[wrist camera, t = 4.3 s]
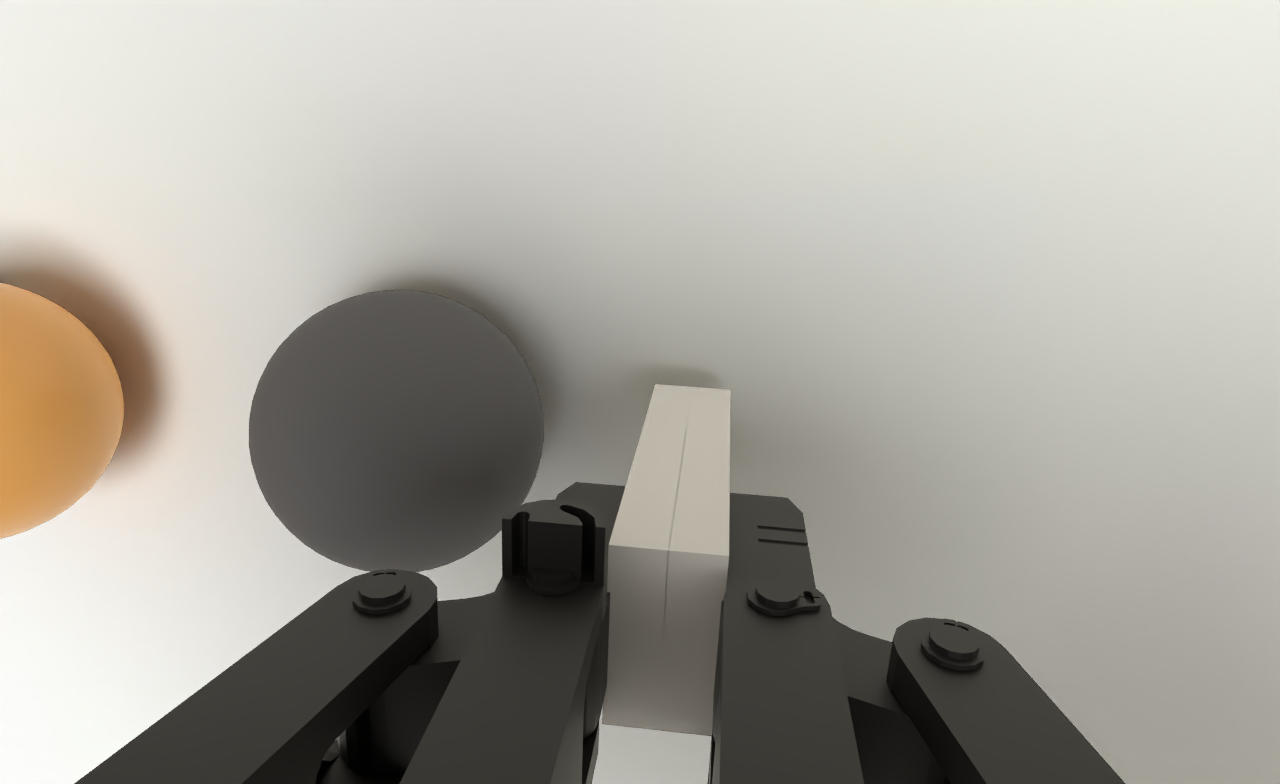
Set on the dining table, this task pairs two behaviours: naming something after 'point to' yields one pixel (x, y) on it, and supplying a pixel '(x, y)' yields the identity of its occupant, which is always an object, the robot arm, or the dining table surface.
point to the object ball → (51, 410)
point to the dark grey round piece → (395, 431)
